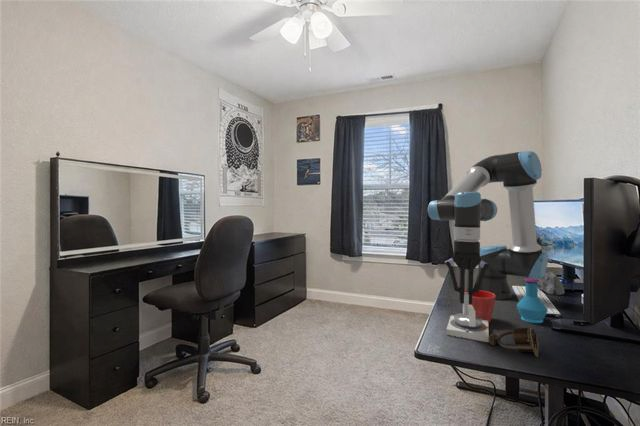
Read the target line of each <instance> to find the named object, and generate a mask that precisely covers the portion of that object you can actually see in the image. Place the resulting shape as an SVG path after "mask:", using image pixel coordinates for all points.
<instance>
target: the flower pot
mask: <svg viewBox="0 0 640 426" xmlns="http://www.w3.org/2000/svg"><path fill="white" fill-rule="evenodd" d="M465 292H467V289H465ZM495 297H496V296H495V294H493V293H491V292H487V291H482V290H479V292H478V293H474V294H473V295H472V304H469V305H472V306H473V308H474V309H475V315H476V316H479V317H481V318H482V320H487V321H488V323H491V321H492V317H493V313H494V307H495V303H496V299H495Z"/></svg>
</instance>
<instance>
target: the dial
mask: <svg viewBox="0 0 640 426" xmlns="http://www.w3.org/2000/svg"><path fill="white" fill-rule="evenodd" d="M453 316H454V322H455V324H457V325H459V326H461V327H465V328H480V327H482V318H481V317H479V316H476V315H475V309H474V308H473V306H472V305H469V306H468V315H464V313H463V312H461V313H455V314H454V315H453Z"/></svg>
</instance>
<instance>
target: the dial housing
mask: <svg viewBox="0 0 640 426" xmlns="http://www.w3.org/2000/svg"><path fill="white" fill-rule="evenodd" d="M489 329H490V328H489V322H488V321H487V320H482V327H480V328H465V327H461V326H459V325H457V324H455V322H454V315H450V317H449V320H448V324H447V325H446V336H449V335H450V337H455V336H456V338H461V337H462V339H466V338H467V340H473V341H479V342H485V343H489V336H490V334H489Z"/></svg>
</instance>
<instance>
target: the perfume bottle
mask: <svg viewBox="0 0 640 426" xmlns="http://www.w3.org/2000/svg"><path fill="white" fill-rule="evenodd" d="M523 281H524V283H525V295H524V296H523V297H522V298H521V300H519V301H518V302H517V303H516V308H517V311H518V313H519V315H520V316H521V317H520V318H521V320H522V321H524V322H528V323H532V324H542V323H544V319H545V318H546V316H547V312H548V308H547V306H546V305H545V304H544V303H543V301H542V300H541V299H540V298H539V296H538V295H539V294H538V289H539V288H538V283H537V282H539V279H535V278H525V277H524V279H523Z"/></svg>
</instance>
